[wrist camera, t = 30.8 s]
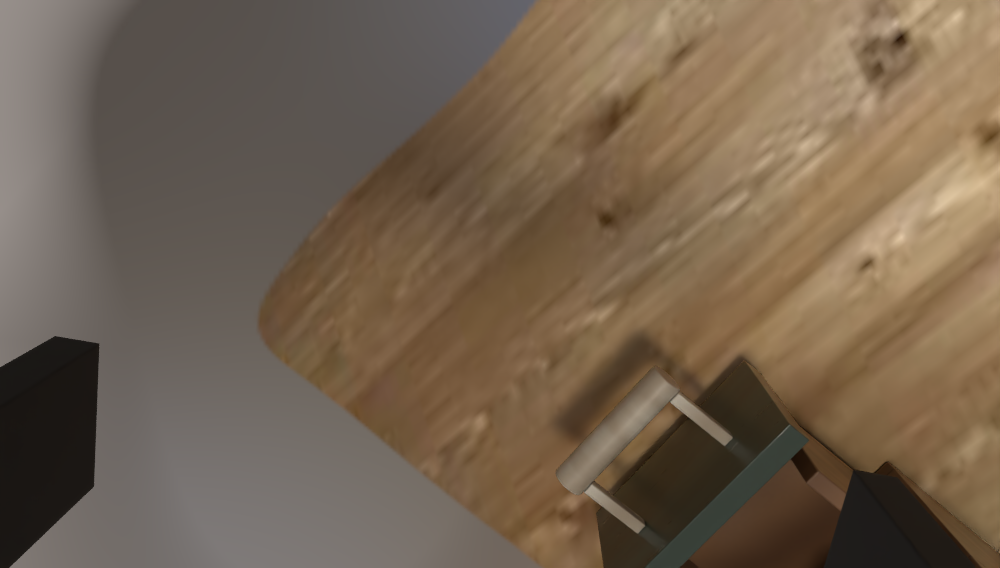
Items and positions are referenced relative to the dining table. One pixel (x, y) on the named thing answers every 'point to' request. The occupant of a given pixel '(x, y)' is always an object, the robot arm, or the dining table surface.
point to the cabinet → (949, 524)
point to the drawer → (713, 481)
